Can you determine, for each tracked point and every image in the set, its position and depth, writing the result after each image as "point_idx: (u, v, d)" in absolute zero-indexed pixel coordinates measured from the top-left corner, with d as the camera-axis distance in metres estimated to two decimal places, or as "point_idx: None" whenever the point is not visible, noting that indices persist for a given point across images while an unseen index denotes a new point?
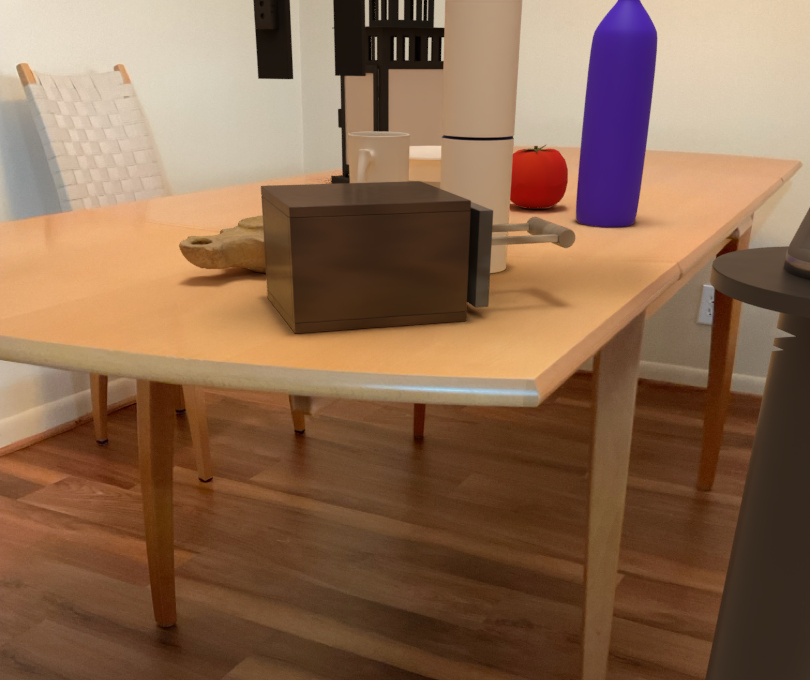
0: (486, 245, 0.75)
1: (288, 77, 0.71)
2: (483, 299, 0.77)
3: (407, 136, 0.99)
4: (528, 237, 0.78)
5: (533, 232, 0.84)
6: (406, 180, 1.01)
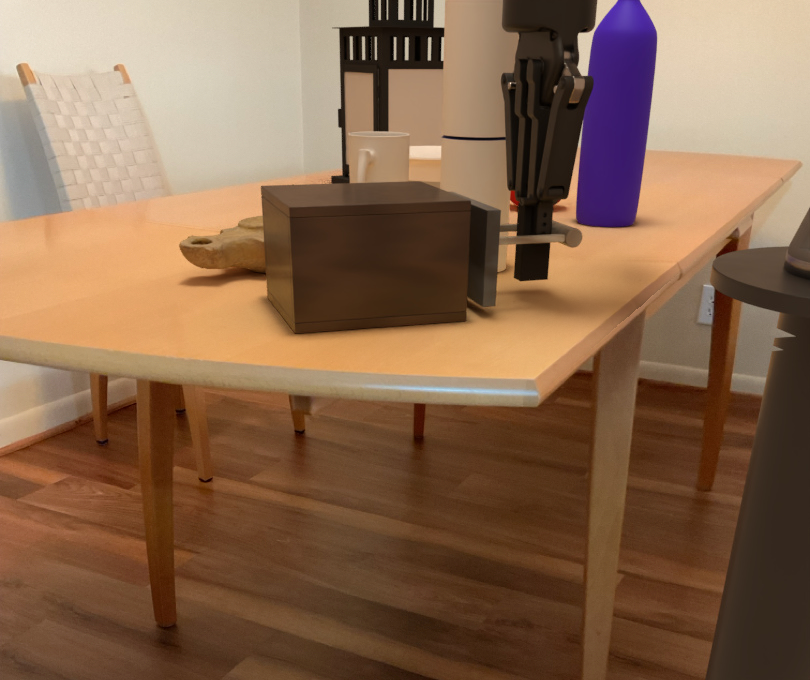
0: (494, 245, 0.75)
1: (547, 278, 0.83)
2: (490, 298, 0.77)
3: (407, 136, 0.99)
4: (535, 237, 0.78)
5: None
6: (406, 180, 1.01)
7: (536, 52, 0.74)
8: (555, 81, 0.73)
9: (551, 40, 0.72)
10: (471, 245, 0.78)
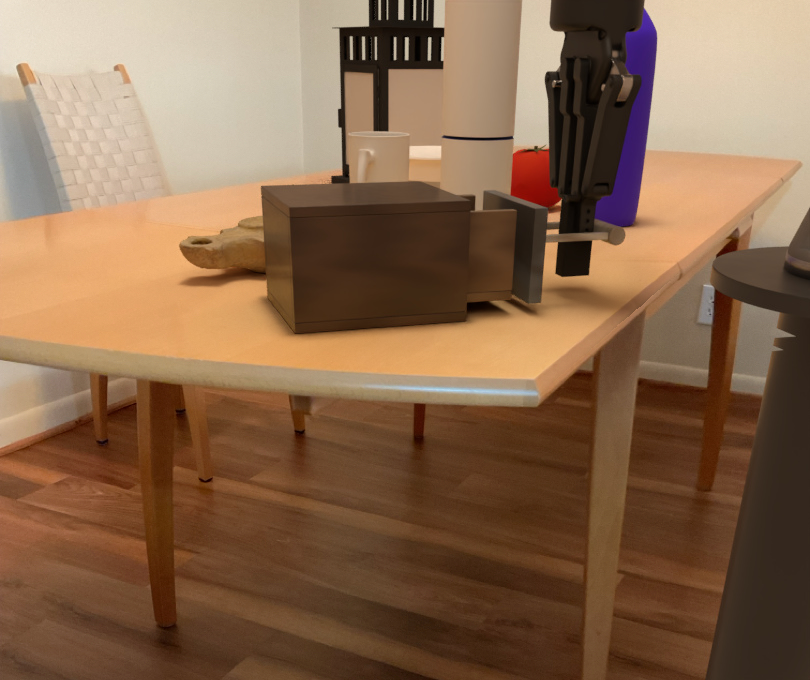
0: (540, 242, 0.76)
1: (588, 274, 0.84)
2: (536, 295, 0.78)
3: (407, 136, 0.99)
4: (579, 234, 0.80)
5: None
6: (406, 180, 1.01)
7: (583, 51, 0.75)
8: (602, 79, 0.74)
9: (599, 39, 0.73)
10: (517, 243, 0.79)
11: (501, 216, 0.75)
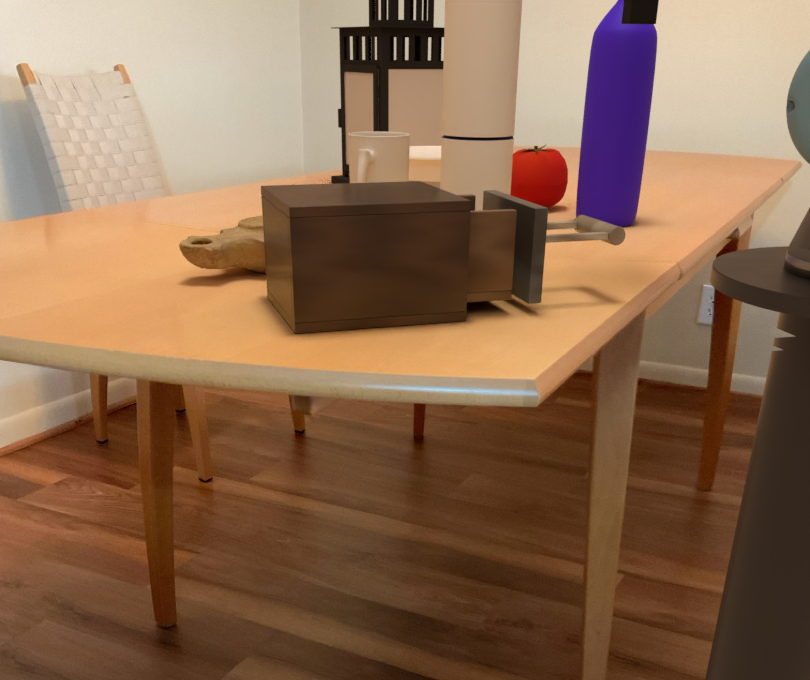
0: (540, 242, 0.76)
1: (655, 22, 0.83)
2: (536, 295, 0.78)
3: (407, 136, 0.99)
4: (579, 234, 0.80)
5: (581, 230, 0.85)
6: (406, 180, 1.01)
7: None
8: None
9: None
10: (517, 243, 0.79)
11: (501, 216, 0.75)
